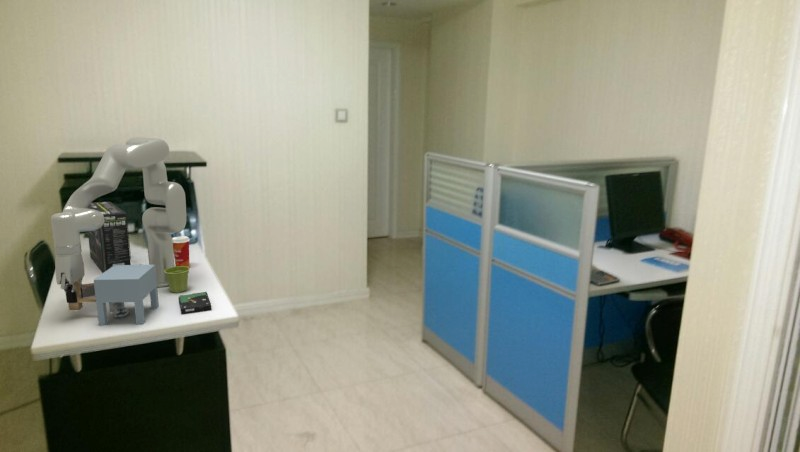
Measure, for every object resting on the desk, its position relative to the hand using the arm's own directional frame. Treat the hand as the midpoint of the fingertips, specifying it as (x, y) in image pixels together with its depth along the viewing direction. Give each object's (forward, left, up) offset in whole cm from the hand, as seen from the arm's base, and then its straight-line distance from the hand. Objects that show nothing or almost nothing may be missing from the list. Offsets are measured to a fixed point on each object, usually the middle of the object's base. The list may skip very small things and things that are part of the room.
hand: (75, 300), depth 179 cm
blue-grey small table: (0, +18, -6) cm, 19 cm away
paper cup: (-55, +20, -6) cm, 59 cm away
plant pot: (-25, +27, -6) cm, 37 cm away
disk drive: (-8, +37, -7) cm, 39 cm away
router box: (-61, -14, -6) cm, 63 cm away
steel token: (0, +15, -6) cm, 16 cm away
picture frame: (-25, 0, -7) cm, 26 cm away
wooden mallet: (0, +6, -3) cm, 7 cm away
